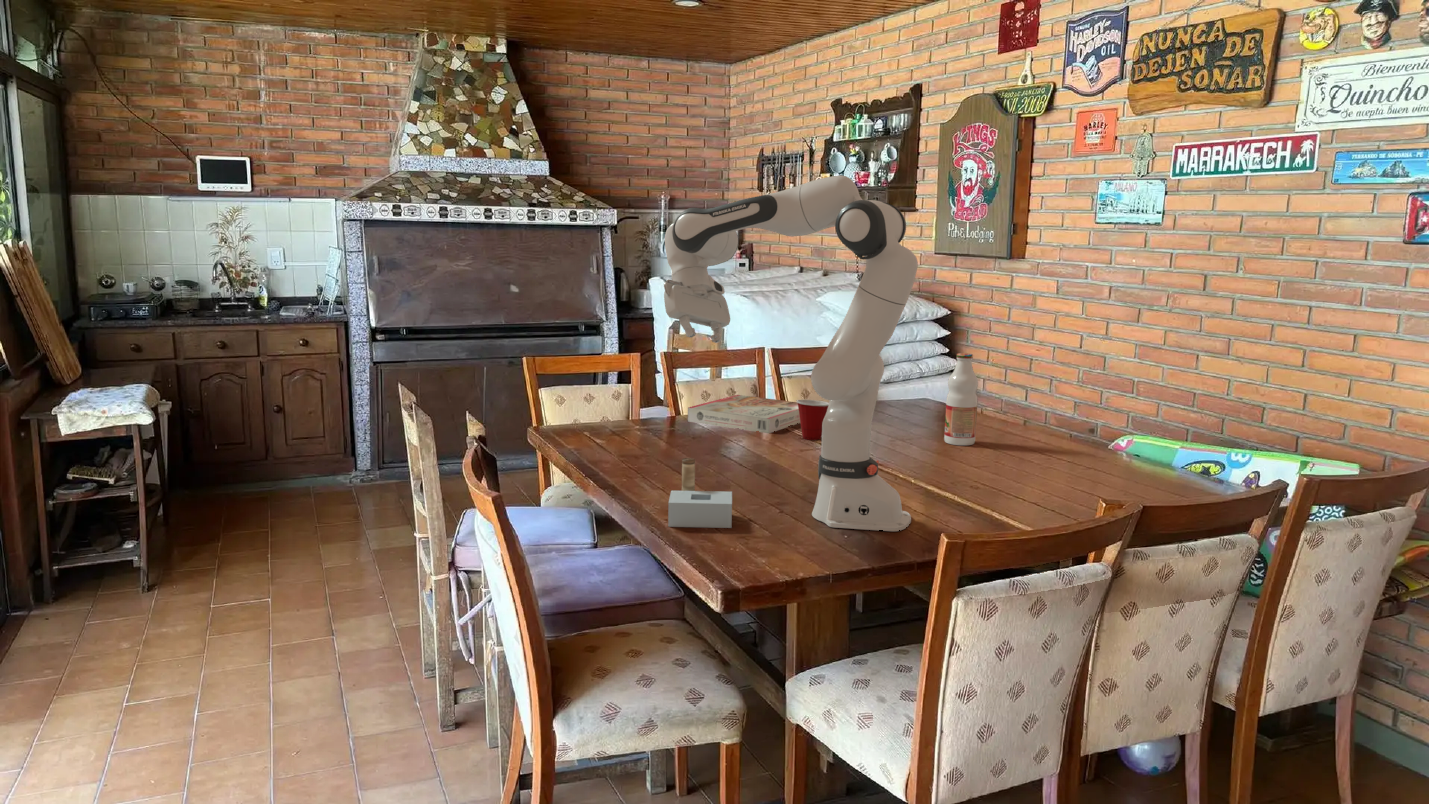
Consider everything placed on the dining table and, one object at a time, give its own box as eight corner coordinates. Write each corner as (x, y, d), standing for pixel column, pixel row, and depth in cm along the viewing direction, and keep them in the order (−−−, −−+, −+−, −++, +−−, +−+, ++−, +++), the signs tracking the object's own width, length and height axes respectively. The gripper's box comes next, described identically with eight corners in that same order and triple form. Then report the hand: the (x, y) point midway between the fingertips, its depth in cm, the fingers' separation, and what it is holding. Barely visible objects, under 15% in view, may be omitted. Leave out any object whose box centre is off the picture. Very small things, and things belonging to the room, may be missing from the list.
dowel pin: (696, 508, 228) (697, 458, 226) (691, 511, 225) (692, 461, 223) (684, 506, 229) (685, 457, 227) (679, 510, 226) (679, 460, 224)
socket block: (731, 514, 223) (731, 491, 222) (731, 527, 213) (731, 503, 212) (671, 513, 223) (671, 490, 222) (668, 526, 213) (668, 502, 212)
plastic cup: (836, 439, 304) (838, 402, 302) (810, 443, 298) (811, 405, 296) (814, 433, 313) (815, 396, 311) (788, 436, 307) (789, 399, 305)
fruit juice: (962, 447, 296) (968, 356, 291) (937, 441, 303) (942, 353, 298) (981, 443, 301) (986, 354, 296) (956, 438, 309) (961, 351, 304)
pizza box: (737, 394, 354) (815, 404, 337) (737, 409, 355) (814, 419, 338) (687, 407, 328) (769, 418, 311) (687, 422, 329) (769, 435, 312)
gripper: (672, 272, 221) (685, 327, 217) (728, 288, 237) (740, 339, 233) (653, 283, 225) (665, 338, 221) (709, 298, 241) (720, 349, 237)
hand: (704, 339), depth 227 cm, fingers open, 8 cm apart
